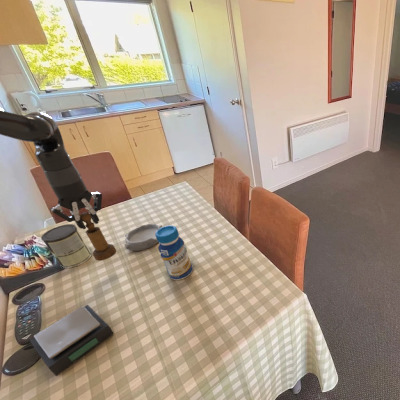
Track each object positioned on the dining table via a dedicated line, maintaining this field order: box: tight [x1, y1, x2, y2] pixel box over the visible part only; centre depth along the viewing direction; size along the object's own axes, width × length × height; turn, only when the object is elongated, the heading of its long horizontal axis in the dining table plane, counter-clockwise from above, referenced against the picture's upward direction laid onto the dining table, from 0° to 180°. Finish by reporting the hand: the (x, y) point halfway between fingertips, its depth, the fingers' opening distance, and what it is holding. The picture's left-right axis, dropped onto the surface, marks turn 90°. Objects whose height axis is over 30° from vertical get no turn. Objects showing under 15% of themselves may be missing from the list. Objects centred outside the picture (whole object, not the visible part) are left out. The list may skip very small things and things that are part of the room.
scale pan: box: [33, 305, 101, 359], centre depth 76 cm, size 12×12×1 cm
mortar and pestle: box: [79, 212, 117, 262], centre depth 93 cm, size 7×6×18 cm
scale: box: [29, 304, 115, 377], centre depth 77 cm, size 14×14×5 cm
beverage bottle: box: [155, 225, 194, 281], centre depth 97 cm, size 8×8×20 cm
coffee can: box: [40, 223, 93, 269], centre depth 105 cm, size 10×10×14 cm
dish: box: [124, 223, 163, 252], centre depth 117 cm, size 14×14×5 cm
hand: (90, 225), depth 91 cm, fingers closed on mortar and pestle, 3 cm apart
